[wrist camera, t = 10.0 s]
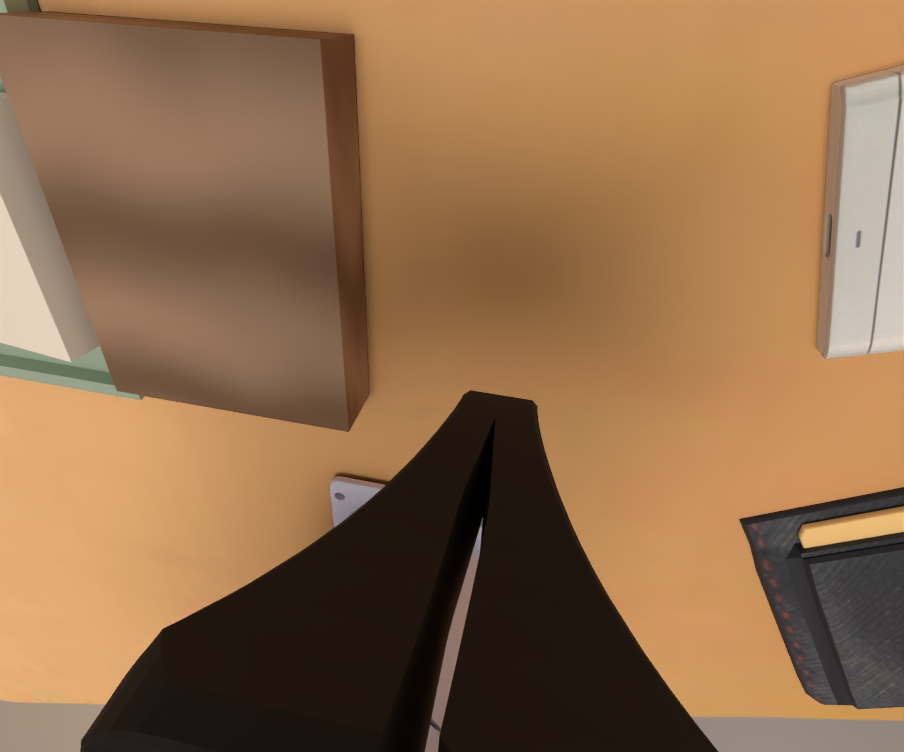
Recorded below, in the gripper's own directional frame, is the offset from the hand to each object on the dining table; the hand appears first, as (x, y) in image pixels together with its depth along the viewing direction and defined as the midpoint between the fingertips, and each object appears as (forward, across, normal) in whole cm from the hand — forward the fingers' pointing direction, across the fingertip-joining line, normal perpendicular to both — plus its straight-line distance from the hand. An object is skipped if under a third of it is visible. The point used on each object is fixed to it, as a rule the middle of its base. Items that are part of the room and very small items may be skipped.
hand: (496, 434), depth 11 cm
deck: (+9, +11, 0) cm, 14 cm away
